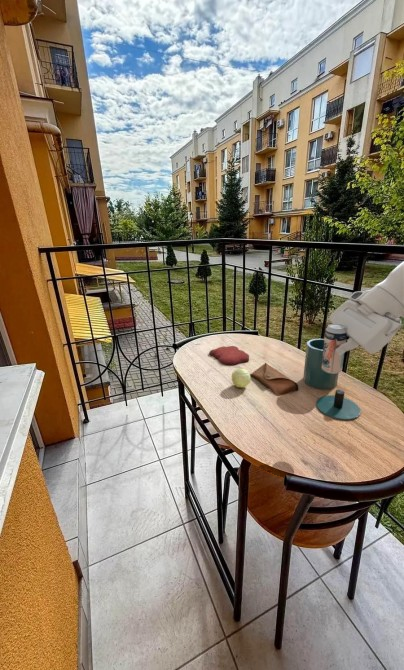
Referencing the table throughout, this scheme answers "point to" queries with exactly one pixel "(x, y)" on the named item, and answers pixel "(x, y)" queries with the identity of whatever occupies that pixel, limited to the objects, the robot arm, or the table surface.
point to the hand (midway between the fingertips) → (331, 347)
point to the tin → (317, 367)
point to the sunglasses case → (274, 380)
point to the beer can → (331, 358)
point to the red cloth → (230, 355)
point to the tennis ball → (241, 378)
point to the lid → (338, 406)
